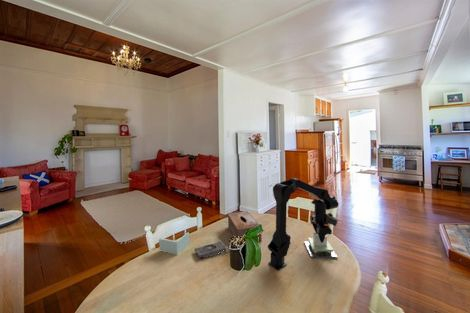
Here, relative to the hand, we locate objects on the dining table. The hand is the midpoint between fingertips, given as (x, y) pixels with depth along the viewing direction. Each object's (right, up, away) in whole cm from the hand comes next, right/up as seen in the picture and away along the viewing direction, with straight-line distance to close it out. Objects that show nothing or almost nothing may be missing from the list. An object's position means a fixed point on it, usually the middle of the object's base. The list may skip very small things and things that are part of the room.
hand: (319, 239), depth 115 cm
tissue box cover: (-40, -6, +23) cm, 47 cm away
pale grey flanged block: (0, -4, 0) cm, 4 cm away
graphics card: (-59, -9, +4) cm, 60 cm away
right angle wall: (-80, -9, +9) cm, 81 cm away
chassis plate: (0, -6, +1) cm, 6 cm away
